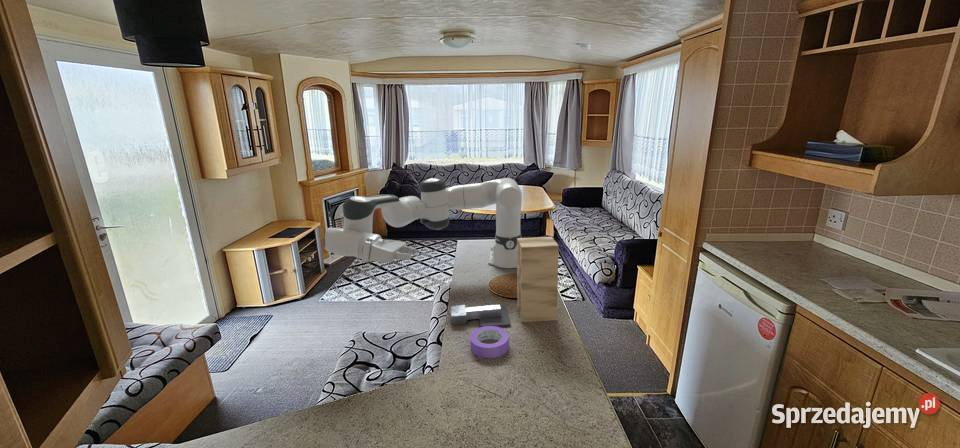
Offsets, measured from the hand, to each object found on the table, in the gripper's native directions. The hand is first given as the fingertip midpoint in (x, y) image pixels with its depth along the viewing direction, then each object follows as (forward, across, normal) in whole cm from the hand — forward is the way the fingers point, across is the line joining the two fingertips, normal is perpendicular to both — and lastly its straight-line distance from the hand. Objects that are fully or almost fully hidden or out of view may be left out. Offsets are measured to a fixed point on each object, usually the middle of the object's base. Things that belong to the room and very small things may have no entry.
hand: (413, 254), depth 128 cm
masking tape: (+29, +10, -22) cm, 38 cm away
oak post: (+45, -8, -15) cm, 48 cm away
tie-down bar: (+23, -5, -16) cm, 29 cm away
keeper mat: (+30, -6, -18) cm, 36 cm away
